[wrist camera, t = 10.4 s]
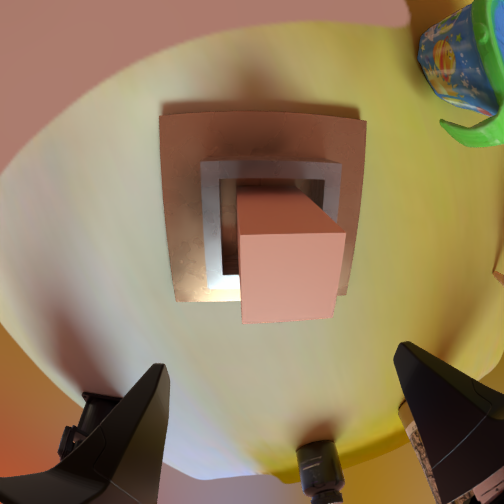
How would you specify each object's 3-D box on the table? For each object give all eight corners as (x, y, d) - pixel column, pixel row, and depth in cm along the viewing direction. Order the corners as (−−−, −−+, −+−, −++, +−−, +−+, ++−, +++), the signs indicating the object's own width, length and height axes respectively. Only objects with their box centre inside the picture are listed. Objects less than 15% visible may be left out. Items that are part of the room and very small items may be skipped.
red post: (237, 242, 20) (242, 323, 12) (235, 186, 18) (240, 235, 10) (293, 240, 20) (332, 317, 12) (295, 185, 18) (346, 232, 10)
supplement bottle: (305, 440, 35) (319, 504, 24) (341, 437, 36) (359, 496, 26) (289, 456, 38) (299, 513, 27) (323, 454, 39) (336, 507, 28)
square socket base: (177, 294, 22) (169, 325, 19) (162, 116, 17) (145, 113, 13) (342, 288, 23) (359, 315, 20) (360, 121, 17) (388, 120, 14)
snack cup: (445, 166, 19) (533, 199, 10) (364, 81, 16) (458, 60, 7) (494, 65, 14) (564, 67, 5) (430, -12, 11) (499, -38, 2)
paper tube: (389, 411, 34) (439, 535, 12) (422, 385, 32) (485, 509, 10) (407, 415, 36) (453, 523, 14) (436, 391, 34) (492, 499, 12)
